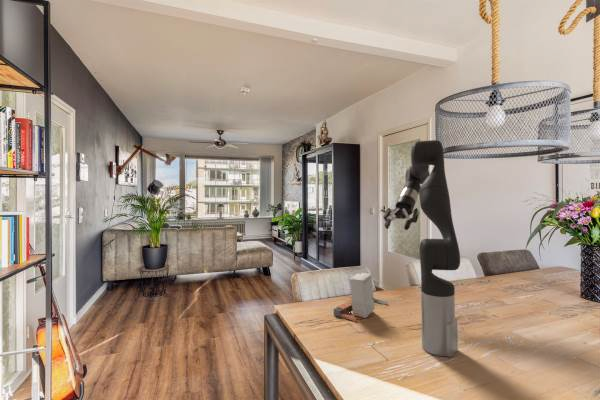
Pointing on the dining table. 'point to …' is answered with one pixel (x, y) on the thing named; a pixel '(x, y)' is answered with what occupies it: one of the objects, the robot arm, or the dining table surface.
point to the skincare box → (362, 294)
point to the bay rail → (347, 307)
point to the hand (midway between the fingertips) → (395, 228)
